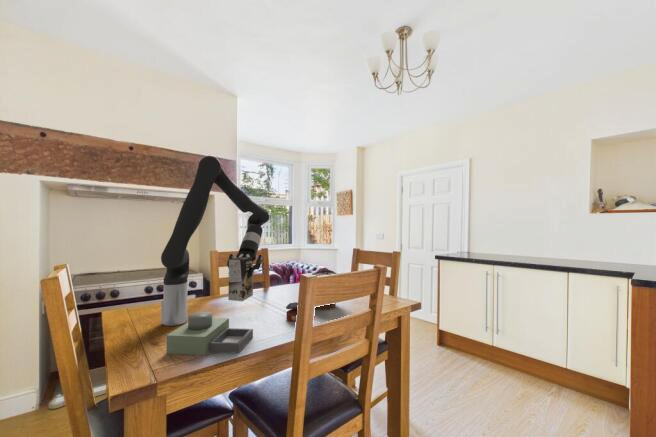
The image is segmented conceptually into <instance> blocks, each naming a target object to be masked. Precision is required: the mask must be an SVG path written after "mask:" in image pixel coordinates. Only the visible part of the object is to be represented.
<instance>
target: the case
mask: <svg viewBox="0 0 656 437" xmlns="http://www.w3.org/2000/svg"><path fill="white" fill-rule="evenodd" d="M331 274H338V273H336V272H335V271H334V270H330V269H320V270H318V271H315V272H314V273H312V274H311V275H317V276H320V275H331ZM336 304H337V302H336V303H335V304H330V305H324V306H320V307H316V308H315V309H314V310H315V311H329V310H332V309H334V308H335V307H336Z"/></svg>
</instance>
